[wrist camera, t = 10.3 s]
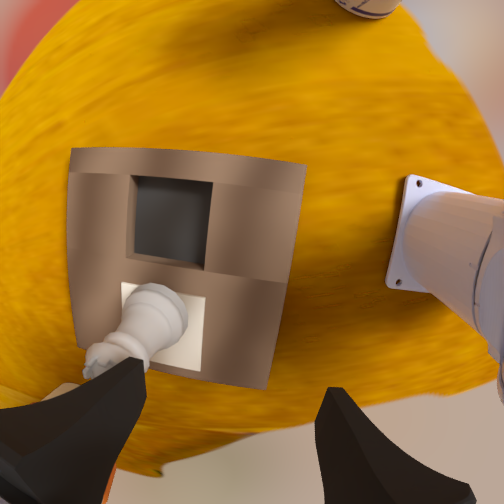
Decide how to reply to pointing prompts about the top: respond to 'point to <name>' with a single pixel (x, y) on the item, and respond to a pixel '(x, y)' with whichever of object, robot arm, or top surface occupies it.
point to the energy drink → (370, 7)
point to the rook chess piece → (140, 329)
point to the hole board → (185, 251)
